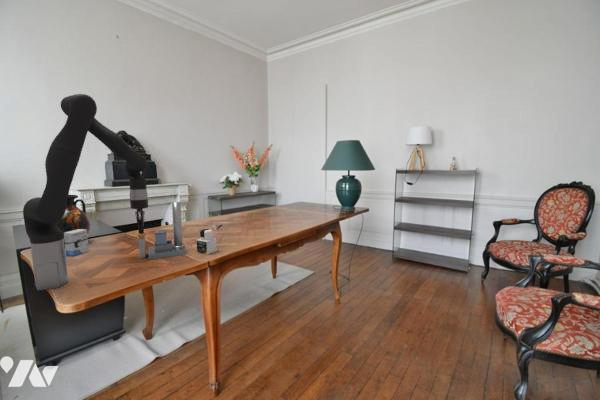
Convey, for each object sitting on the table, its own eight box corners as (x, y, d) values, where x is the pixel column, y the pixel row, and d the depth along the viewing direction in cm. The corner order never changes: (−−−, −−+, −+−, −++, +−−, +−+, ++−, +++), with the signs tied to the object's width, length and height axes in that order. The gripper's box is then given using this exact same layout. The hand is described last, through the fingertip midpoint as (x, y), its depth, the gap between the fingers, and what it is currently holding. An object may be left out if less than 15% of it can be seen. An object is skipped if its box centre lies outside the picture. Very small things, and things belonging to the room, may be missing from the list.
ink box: (73, 256, 137) (71, 233, 136) (65, 255, 138) (63, 232, 137) (89, 251, 146) (87, 229, 144) (82, 250, 147) (79, 228, 145)
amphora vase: (49, 253, 141) (42, 199, 137) (37, 246, 153) (31, 196, 149) (98, 244, 158) (94, 195, 155) (84, 238, 170) (79, 193, 167)
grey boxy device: (196, 253, 144) (195, 230, 142) (207, 249, 150) (206, 227, 148) (206, 255, 140) (205, 232, 139) (217, 251, 147) (216, 229, 145)
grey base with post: (186, 254, 141) (184, 203, 138) (139, 260, 132) (135, 206, 128) (183, 247, 154) (181, 200, 150) (140, 252, 144) (137, 202, 140)
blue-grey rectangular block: (167, 249, 141) (166, 232, 140) (156, 250, 138) (154, 233, 137) (166, 246, 145) (165, 230, 144) (155, 248, 143) (154, 231, 142)
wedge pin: (146, 255, 137) (145, 233, 136) (138, 256, 136) (137, 234, 134) (147, 253, 141) (145, 232, 139) (138, 254, 139) (137, 232, 137)
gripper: (147, 199, 130) (149, 235, 133) (147, 196, 142) (150, 229, 144) (129, 200, 127) (131, 237, 129) (130, 197, 139) (133, 231, 141)
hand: (141, 233), depth 137 cm, fingers closed
